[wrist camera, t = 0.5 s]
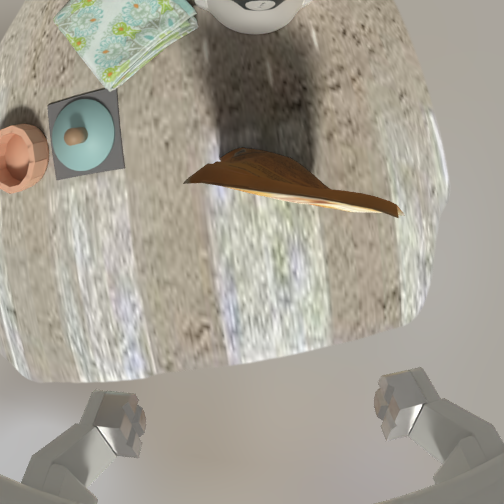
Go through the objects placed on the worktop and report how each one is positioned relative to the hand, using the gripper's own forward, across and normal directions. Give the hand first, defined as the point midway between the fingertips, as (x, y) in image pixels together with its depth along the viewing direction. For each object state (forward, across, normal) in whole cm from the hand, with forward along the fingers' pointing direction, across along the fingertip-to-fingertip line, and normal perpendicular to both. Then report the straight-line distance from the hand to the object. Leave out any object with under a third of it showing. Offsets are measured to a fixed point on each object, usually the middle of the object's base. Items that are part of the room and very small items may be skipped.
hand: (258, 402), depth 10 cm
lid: (+44, +27, -9) cm, 52 cm away
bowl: (+44, +41, -8) cm, 61 cm away
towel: (+45, +18, -28) cm, 56 cm away
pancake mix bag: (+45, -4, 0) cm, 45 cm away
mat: (+44, +27, -9) cm, 53 cm away
